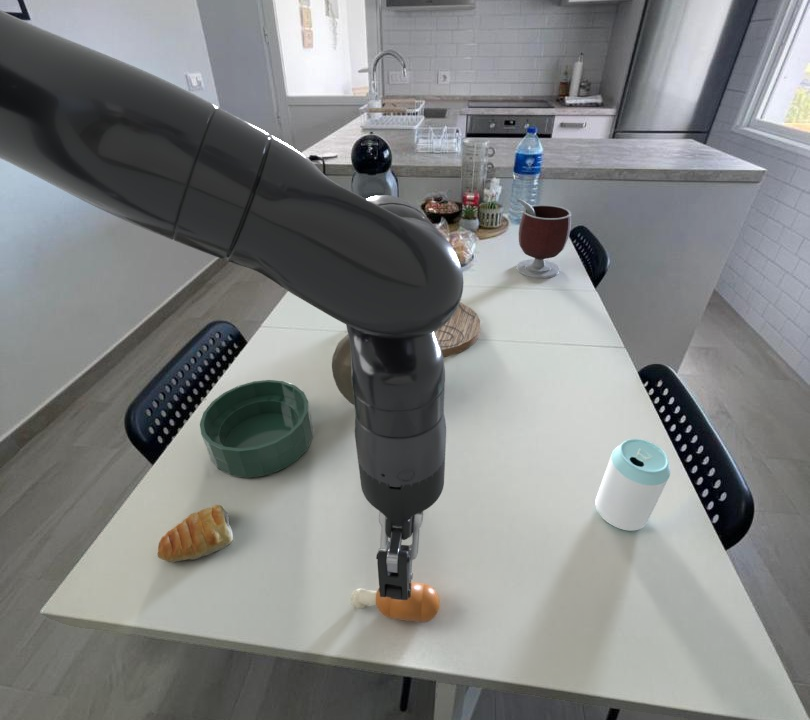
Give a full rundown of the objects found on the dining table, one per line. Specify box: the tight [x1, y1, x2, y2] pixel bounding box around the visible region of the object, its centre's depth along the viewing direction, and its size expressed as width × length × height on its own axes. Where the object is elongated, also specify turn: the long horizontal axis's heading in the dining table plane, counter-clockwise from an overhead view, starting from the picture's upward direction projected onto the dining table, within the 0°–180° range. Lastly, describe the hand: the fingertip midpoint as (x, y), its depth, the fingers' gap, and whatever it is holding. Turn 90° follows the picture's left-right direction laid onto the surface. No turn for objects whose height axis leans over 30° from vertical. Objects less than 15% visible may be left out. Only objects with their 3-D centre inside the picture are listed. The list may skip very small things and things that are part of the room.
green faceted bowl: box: [199, 379, 314, 479], centre depth 76 cm, size 17×17×6 cm
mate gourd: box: [516, 197, 572, 279], centre depth 128 cm, size 16×14×20 cm
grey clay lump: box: [331, 333, 355, 407], centre depth 81 cm, size 14×14×15 cm
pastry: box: [157, 504, 234, 563], centre depth 61 cm, size 9×7×4 cm
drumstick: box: [350, 581, 441, 623], centre depth 53 cm, size 11×4×4 cm, turn 82°
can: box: [594, 438, 671, 532], centre depth 61 cm, size 7×7×12 cm
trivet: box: [434, 302, 481, 358], centre depth 106 cm, size 25×25×2 cm
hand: (405, 553), depth 47 cm, fingers open, 8 cm apart
